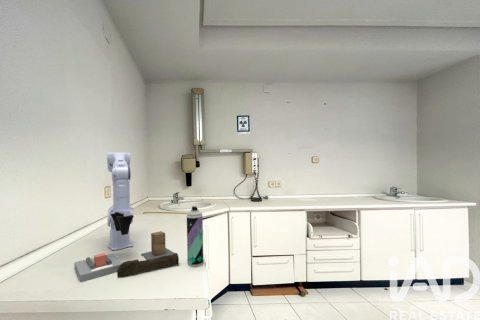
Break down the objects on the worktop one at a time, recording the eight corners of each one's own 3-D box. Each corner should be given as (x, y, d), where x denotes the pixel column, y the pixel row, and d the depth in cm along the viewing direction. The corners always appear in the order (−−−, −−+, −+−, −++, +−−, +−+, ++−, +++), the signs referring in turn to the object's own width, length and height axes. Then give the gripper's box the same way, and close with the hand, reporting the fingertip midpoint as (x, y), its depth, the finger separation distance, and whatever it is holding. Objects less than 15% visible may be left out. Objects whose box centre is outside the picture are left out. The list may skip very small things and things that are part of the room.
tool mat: (140, 254, 92) (140, 253, 92) (165, 248, 98) (165, 247, 98) (150, 262, 84) (150, 261, 84) (176, 254, 91) (176, 253, 91)
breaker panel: (74, 268, 81) (74, 258, 81) (112, 258, 89) (112, 250, 89) (80, 282, 70) (80, 271, 70) (123, 269, 78) (123, 260, 78)
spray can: (186, 262, 83) (185, 205, 84) (201, 259, 85) (200, 204, 86) (188, 268, 78) (187, 208, 79) (204, 265, 80) (203, 206, 81)
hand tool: (177, 262, 84) (176, 249, 84) (179, 266, 80) (179, 252, 81) (117, 275, 75) (117, 260, 75) (117, 280, 72) (117, 264, 72)
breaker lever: (94, 265, 77) (94, 255, 78) (104, 262, 79) (104, 253, 80) (95, 267, 76) (95, 257, 76) (106, 264, 78) (105, 255, 78)
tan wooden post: (151, 253, 91) (151, 233, 92) (161, 251, 94) (160, 231, 94) (155, 256, 88) (155, 235, 89) (165, 253, 91) (165, 233, 91)
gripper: (138, 197, 88) (138, 233, 87) (126, 195, 99) (127, 227, 98) (118, 199, 83) (118, 238, 83) (108, 196, 94) (108, 230, 94)
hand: (121, 232), depth 90 cm, fingers open, 7 cm apart
